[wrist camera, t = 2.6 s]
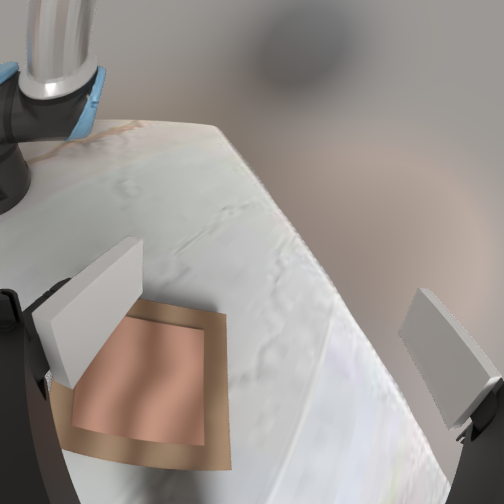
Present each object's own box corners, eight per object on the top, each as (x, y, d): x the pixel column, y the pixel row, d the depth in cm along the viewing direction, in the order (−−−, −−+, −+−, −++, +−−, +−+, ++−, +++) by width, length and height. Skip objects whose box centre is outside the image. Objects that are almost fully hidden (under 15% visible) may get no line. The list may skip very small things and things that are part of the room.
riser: (52, 444, 19) (43, 443, 16) (78, 296, 32) (74, 281, 29) (223, 468, 25) (233, 470, 23) (219, 323, 38) (227, 312, 36)
